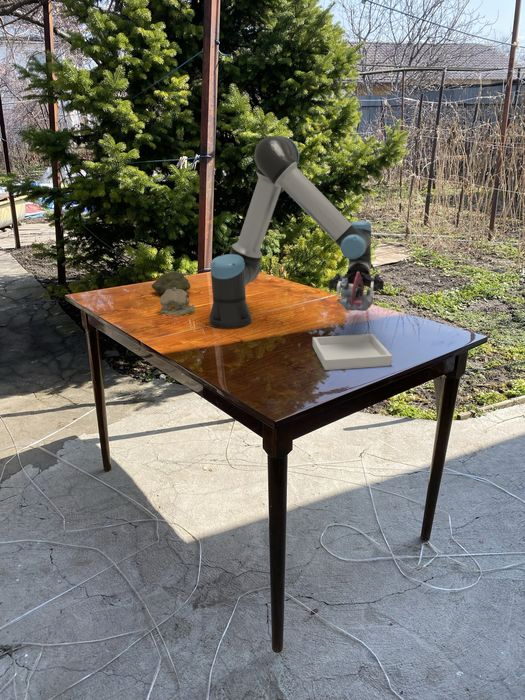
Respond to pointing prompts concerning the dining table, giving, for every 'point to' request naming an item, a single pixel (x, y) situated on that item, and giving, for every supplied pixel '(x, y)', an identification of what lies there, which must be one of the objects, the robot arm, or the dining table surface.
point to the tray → (351, 352)
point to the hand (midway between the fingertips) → (354, 291)
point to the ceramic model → (175, 302)
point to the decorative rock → (171, 282)
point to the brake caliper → (355, 295)
